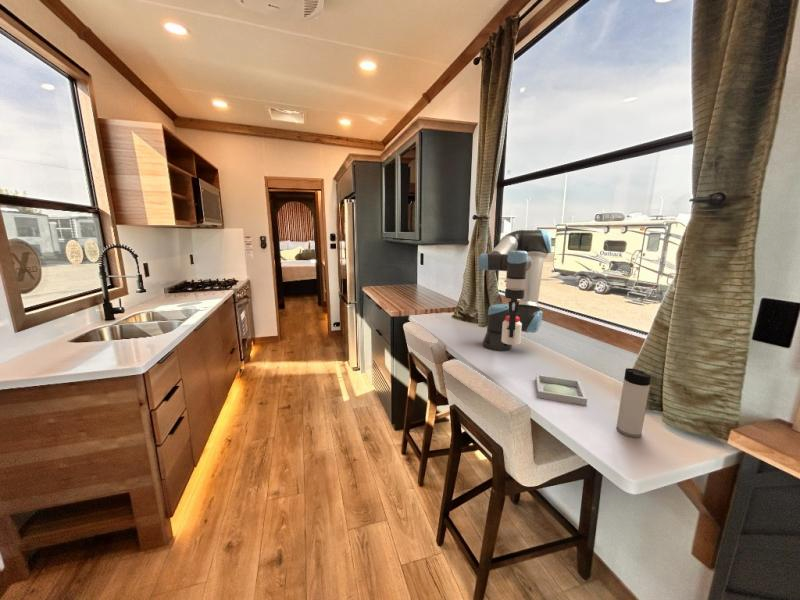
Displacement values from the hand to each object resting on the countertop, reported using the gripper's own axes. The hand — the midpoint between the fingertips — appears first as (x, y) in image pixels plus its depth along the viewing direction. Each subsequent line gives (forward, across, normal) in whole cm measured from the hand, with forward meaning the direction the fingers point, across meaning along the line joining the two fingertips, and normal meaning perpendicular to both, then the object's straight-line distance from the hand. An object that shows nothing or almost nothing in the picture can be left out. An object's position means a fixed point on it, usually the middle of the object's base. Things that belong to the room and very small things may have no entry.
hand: (510, 341), depth 135 cm
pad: (+15, +10, +19) cm, 26 cm away
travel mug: (+15, +31, +36) cm, 50 cm away
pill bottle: (0, 0, 0) cm, 0 cm away
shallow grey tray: (+15, +10, +19) cm, 26 cm away
